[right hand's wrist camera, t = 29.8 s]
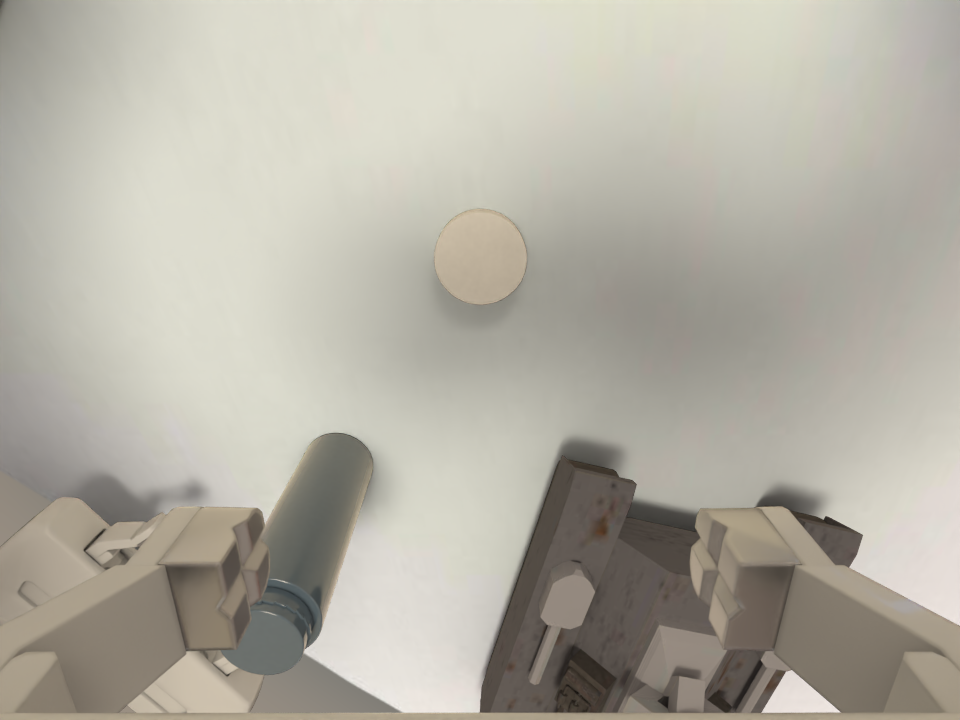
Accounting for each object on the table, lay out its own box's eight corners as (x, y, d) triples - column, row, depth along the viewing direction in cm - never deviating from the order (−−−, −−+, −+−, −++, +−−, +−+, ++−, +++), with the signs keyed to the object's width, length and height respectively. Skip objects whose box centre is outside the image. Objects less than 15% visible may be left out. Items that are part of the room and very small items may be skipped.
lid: (446, 304, 37) (445, 312, 36) (427, 218, 35) (424, 222, 34) (531, 288, 37) (534, 295, 35) (516, 200, 35) (518, 203, 33)
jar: (369, 431, 41) (305, 600, 26) (376, 491, 43) (320, 681, 28) (299, 434, 41) (195, 604, 26) (309, 493, 43) (218, 684, 28)
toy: (563, 432, 41) (607, 586, 27) (822, 490, 42) (990, 664, 28) (477, 683, 50) (476, 897, 36) (693, 723, 51) (773, 941, 37)
